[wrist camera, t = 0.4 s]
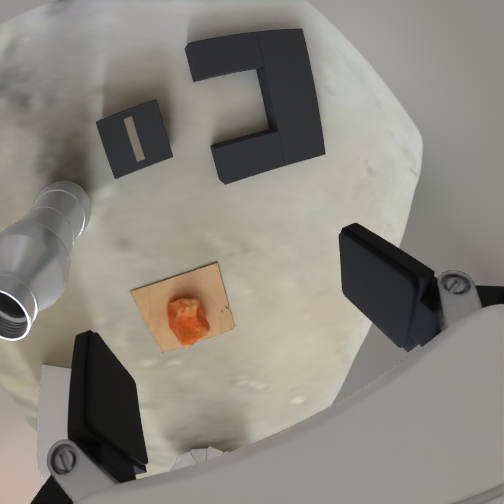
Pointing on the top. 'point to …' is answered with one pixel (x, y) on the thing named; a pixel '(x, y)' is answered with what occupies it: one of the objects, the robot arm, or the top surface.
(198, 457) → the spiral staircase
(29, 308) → the plastic bottle
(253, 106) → the top surface
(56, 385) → the milk
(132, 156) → the dark grey square block
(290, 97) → the dark grey u-shaped block
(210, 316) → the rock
